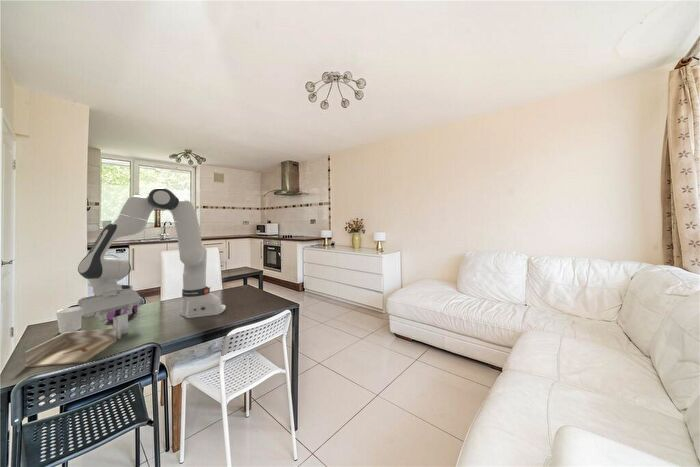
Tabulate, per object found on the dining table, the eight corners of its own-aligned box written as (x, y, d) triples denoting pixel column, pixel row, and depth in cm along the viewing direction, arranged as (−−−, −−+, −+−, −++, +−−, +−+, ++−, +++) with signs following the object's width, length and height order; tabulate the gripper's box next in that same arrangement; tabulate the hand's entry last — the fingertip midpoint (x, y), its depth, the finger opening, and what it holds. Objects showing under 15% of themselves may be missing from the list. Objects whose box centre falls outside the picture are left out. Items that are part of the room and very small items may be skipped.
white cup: (53, 335, 112) (52, 314, 111) (63, 328, 119) (62, 308, 118) (77, 332, 115) (76, 311, 115) (85, 325, 122) (84, 305, 122)
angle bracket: (113, 336, 112) (112, 317, 111) (127, 332, 116) (126, 313, 115) (118, 339, 109) (117, 319, 109) (132, 334, 114) (131, 315, 113)
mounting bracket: (130, 329, 132) (138, 305, 146) (128, 318, 128) (136, 294, 142) (106, 333, 127) (117, 308, 141) (103, 321, 124) (114, 296, 137)
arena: (116, 341, 108) (115, 328, 107) (85, 362, 92) (84, 347, 92) (66, 344, 104) (65, 331, 104) (25, 367, 88) (24, 352, 88)
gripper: (78, 295, 108) (87, 321, 104) (135, 284, 126) (145, 306, 122) (74, 303, 111) (83, 329, 107) (132, 291, 129) (141, 313, 125)
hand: (117, 317), depth 114 cm, fingers open, 8 cm apart
